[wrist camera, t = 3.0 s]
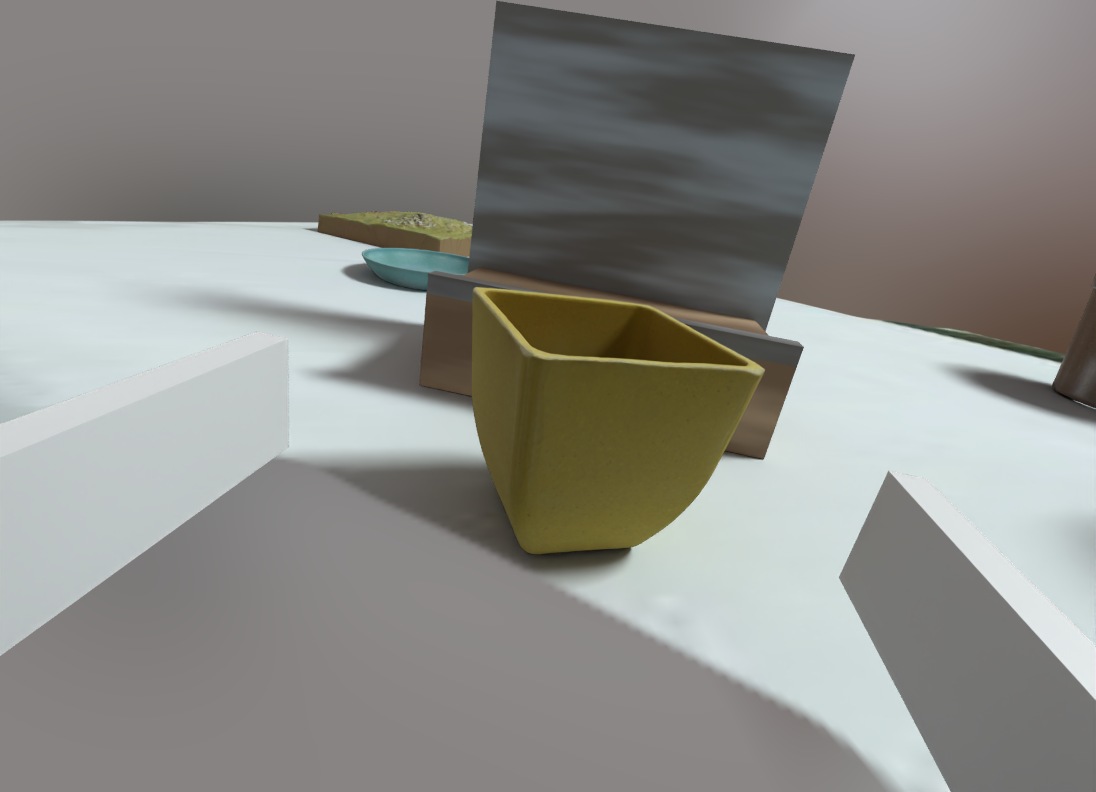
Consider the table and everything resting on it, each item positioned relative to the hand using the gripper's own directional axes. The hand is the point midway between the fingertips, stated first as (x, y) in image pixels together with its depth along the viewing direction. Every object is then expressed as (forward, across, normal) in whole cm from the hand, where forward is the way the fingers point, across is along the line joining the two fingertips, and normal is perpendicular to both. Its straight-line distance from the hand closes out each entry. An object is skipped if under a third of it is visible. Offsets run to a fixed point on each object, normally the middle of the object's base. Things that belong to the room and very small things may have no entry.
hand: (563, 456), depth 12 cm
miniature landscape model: (+79, -33, -9) cm, 86 cm away
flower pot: (+10, 0, -8) cm, 13 cm away
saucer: (+52, -22, -8) cm, 57 cm away
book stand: (+28, 0, -8) cm, 29 cm away
